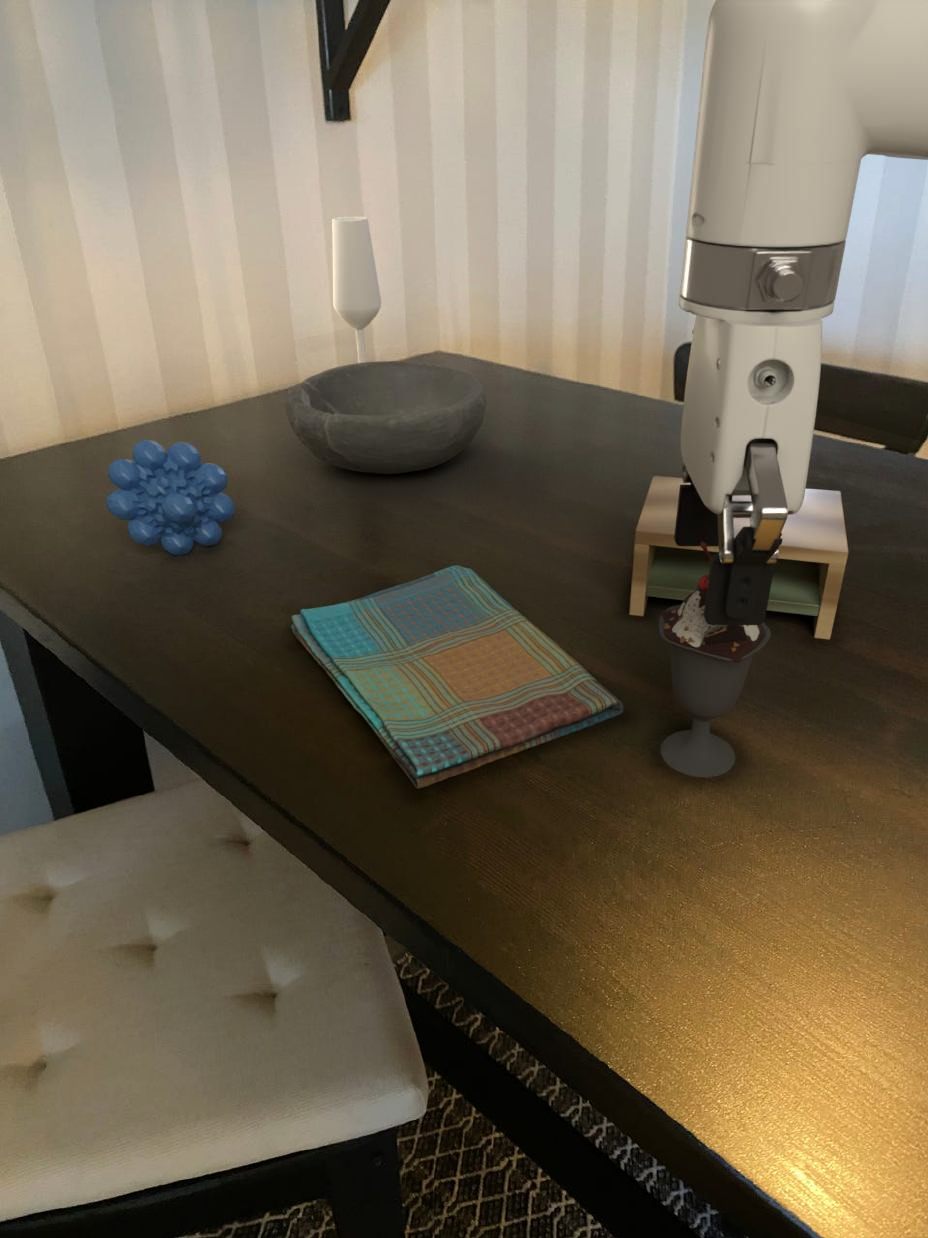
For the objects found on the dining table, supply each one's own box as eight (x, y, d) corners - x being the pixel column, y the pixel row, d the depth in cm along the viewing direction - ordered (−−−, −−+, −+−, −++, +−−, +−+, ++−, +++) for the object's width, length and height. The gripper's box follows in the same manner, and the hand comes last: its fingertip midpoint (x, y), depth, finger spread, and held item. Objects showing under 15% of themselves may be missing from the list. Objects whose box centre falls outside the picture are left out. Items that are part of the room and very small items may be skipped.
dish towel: (469, 582, 82) (468, 557, 81) (628, 715, 64) (631, 686, 63) (290, 634, 75) (286, 608, 74) (412, 799, 57) (410, 769, 56)
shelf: (829, 641, 72) (848, 551, 68) (629, 616, 76) (635, 530, 72) (824, 572, 82) (840, 490, 78) (646, 554, 86) (653, 475, 82)
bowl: (449, 513, 95) (445, 422, 90) (262, 492, 102) (248, 405, 97) (510, 440, 114) (510, 361, 109) (348, 426, 121) (341, 351, 115)
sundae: (670, 713, 64) (691, 522, 57) (762, 746, 61) (798, 547, 53) (628, 763, 60) (645, 563, 52) (726, 801, 57) (759, 593, 49)
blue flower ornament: (131, 587, 83) (101, 464, 77) (117, 558, 88) (88, 441, 82) (253, 557, 88) (234, 439, 82) (233, 531, 93) (214, 418, 87)
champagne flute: (369, 405, 128) (353, 223, 116) (332, 398, 131) (314, 220, 119) (397, 393, 133) (385, 216, 121) (361, 386, 136) (346, 214, 124)
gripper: (901, 314, 37) (823, 660, 46) (787, 249, 52) (744, 520, 61) (718, 315, 38) (675, 659, 46) (656, 250, 52) (632, 520, 61)
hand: (714, 580), depth 54 cm, fingers open, 9 cm apart
